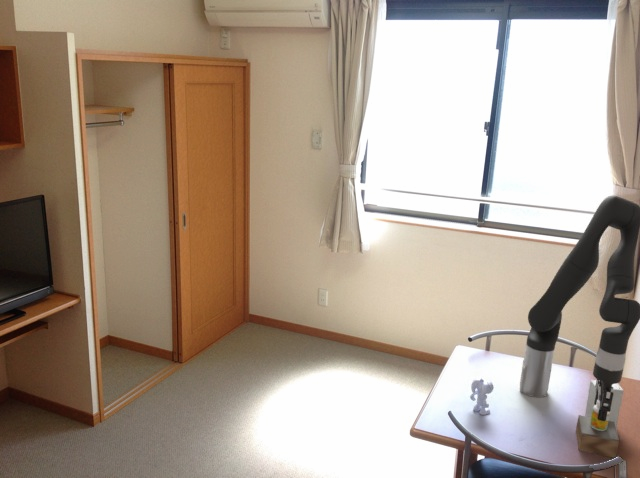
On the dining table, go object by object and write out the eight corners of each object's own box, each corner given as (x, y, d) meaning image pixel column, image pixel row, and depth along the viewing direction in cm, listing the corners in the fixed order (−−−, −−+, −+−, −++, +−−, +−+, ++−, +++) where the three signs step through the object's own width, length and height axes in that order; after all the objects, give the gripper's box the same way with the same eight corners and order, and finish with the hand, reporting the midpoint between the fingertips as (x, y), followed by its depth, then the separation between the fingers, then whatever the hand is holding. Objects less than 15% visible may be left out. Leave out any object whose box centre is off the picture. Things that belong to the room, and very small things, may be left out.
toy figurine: (495, 413, 194) (499, 380, 190) (482, 419, 190) (487, 385, 187) (478, 403, 199) (482, 371, 196) (465, 409, 195) (469, 376, 192)
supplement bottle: (586, 422, 180) (591, 397, 177) (601, 422, 180) (606, 397, 178) (594, 431, 175) (599, 406, 173) (609, 431, 176) (615, 406, 173)
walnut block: (578, 450, 176) (581, 432, 174) (575, 431, 185) (578, 415, 184) (615, 458, 173) (619, 440, 171) (610, 438, 182) (614, 421, 181)
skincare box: (609, 421, 192) (617, 380, 188) (616, 432, 186) (625, 390, 182) (582, 419, 192) (590, 378, 188) (589, 430, 186) (597, 388, 182)
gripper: (593, 350, 179) (583, 398, 184) (598, 371, 166) (588, 422, 171) (620, 355, 177) (610, 403, 181) (627, 377, 164) (616, 428, 168)
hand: (599, 412), depth 176 cm, fingers open, 8 cm apart
